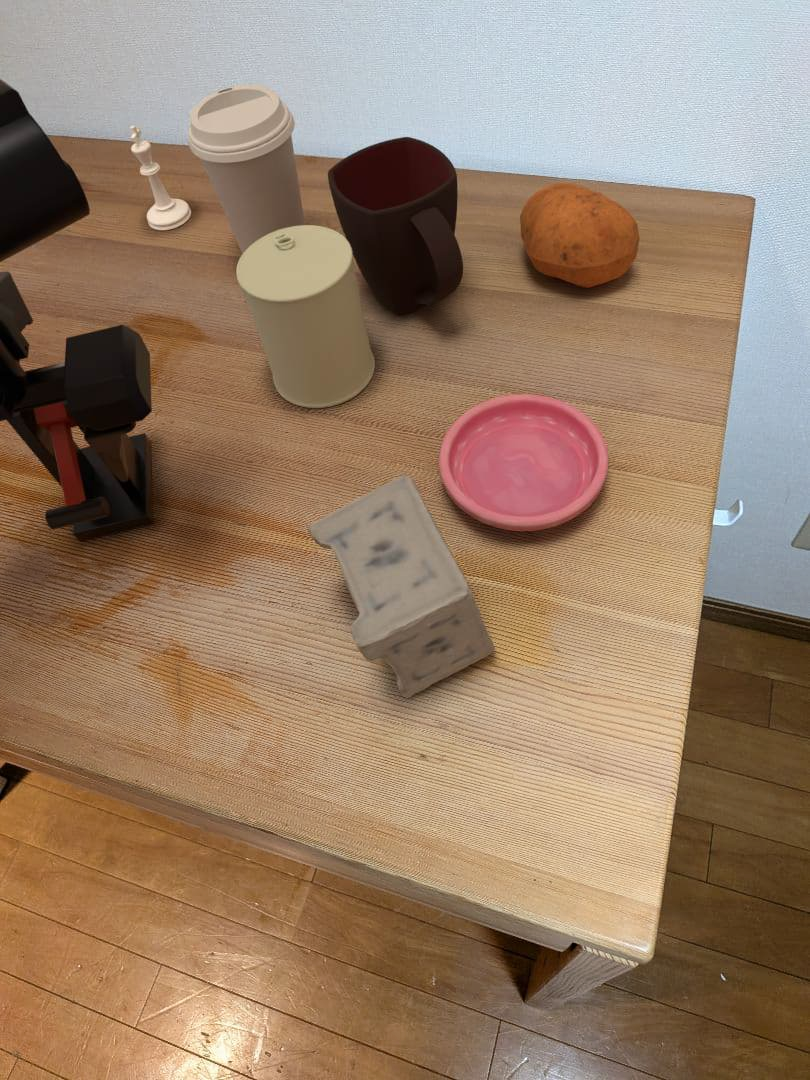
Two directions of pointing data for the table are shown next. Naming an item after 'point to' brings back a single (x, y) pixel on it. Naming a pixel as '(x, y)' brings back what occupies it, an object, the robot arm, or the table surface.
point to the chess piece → (158, 190)
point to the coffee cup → (249, 159)
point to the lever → (68, 471)
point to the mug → (400, 221)
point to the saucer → (523, 462)
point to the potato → (578, 234)
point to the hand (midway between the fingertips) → (59, 492)
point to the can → (308, 314)
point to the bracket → (99, 477)
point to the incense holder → (404, 586)
